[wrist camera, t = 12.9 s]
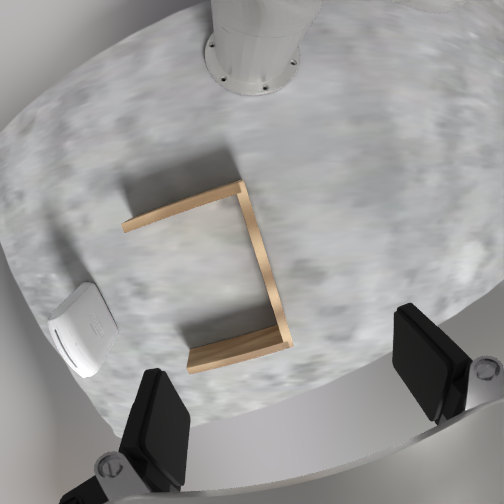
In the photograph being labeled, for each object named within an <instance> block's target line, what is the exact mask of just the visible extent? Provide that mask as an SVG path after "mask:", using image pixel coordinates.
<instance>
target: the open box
mask: <svg viewBox="0 0 504 504" xmlns="http://www.w3.org/2000/svg"><path fill="white" fill-rule="evenodd" d="M235 194H237V196H238V199H239V203H240V206H241V209H242V212H243V215H244V218H245V222H246V225H247V228H248V231H249V234H250V237H251V241H252V244H253V247H254V250H255V253H256V256H257V260H258V263H259V266H260V269H261V272H262V275H263V279H264V282H265V285H266V288H267V291H268V295H269V298H270V301H271V304H272V307H273V310H274V314H275V317H276V320H277V323H278V325H275V326H272V327H269V328H265V329H262V330H259V331H255V332H252V333H248V334H245V335H241V336H238V337H234V338H231V339H227V340H223V341H220V342H216V343H212V344H208V345H205V346H201V347H197V348H193V349H190V352H189V357H188V363H187V370H188V372H189V374H193V373H198V372H202V371H206V370H211V369H215V368H219V367H223V366H227V365H231V364H235V363H238V362H242V361H246V360H249V359H253V358H257V357H260V356H264V355H267V354H270V353H274V352H277V351H280V350H284V349H287V348H290V347H293V346H294V345H293V342H292V339H291V335H290V332H289V328H288V325H287V322H286V318H285V315H284V311H283V308H282V305H281V301H280V298H279V295H278V291H277V288H276V285H275V281H274V278H273V275H272V271H271V268H270V265H269V261H268V258H267V255H266V251H265V248H264V245H263V242H262V238H261V235H260V232H259V229H258V225H257V222H256V219H255V215H254V212H253V209H252V206H251V203H250V199H249V196H248V193H247V190H246V186H245V183H244V181H243V180H238V181H235V182H232V183H229V184H226V185H223V186H219V187H216V188H213V189H210V190H207V191H204V192H201V193H198V194H196V195H193V196H190V197H187V198H184V199H181V200H178V201H176V202H173V203H170V204H167V205H164V206H162V207H159V208H156V209H154V210H151V211H148V212H146V213H143V214H140V215H138V216H135V217H133V218H131V219H129V220H128V221H126V222H124V223H122V224H121V225H122V228H123V231H124V233H126V232H129V231H132V230H134V229H137V228H140V227H142V226H145V225H148V224H150V223H153V222H156V221H158V220H161V219H164V218H167V217H170V216H172V215H175V214H178V213H181V212H184V211H187V210H190V209H193V208H195V207H198V206H201V205H204V204H207V203H210V202H213V201H216V200H220V199H223V198H226V197H229V196H232V195H235Z"/></svg>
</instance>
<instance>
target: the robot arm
mask: <svg viewBox="0 0 504 504" xmlns="http://www.w3.org/2000/svg"><path fill="white" fill-rule="evenodd" d="M210 1H211V10H212V19H213V28H214V32H213V33H212V34H211V36H210V37H209V39H208V41H207V44H206V48H205V62H206V65H207V68H208V71H209V73H210V74H211V76H212V77H213V78H214V80H215V81H216V82H217V83H218V84H220V85H221V86H222V87H224V88H225V89H227V90H229V91H231V92H234V93H237V94H241V95H247V96H261V95H266V94H270V93H272V92H275V91H277V90H279V89H281V88H282V87H284V86H285V85H286V84H287V83H288V82H290V80H291V79H292V78H293V77H294V75H295V73H296V71H297V70H298V67H299V63H300V51H299V47H298V45H299V44H300V42H301V40H302V39H303V37H304V35H305V34H306V32H307V30H308V29H309V27H310V26H311V24H312V22H313V21H314V19H315V18H316V16H317V15H318V13H319V11H320V9H321V6H322V3H323V0H210ZM391 1H394V2H397V3H399V4H402V5H405V6H407V7H410V8H413V9H416V10H419V11H423V12H427V13H434V14H441V13H448V12H451V11H453V10H455V9H457V8H459V7H460V6H462V5H463V4H464V3H465V2H466V1H467V0H391ZM211 46H214V47H211ZM291 63H293V64H294V65H292V64H291ZM222 79H225V81H222ZM263 88H266V89H267V90H263ZM392 362H393V366H394V368H395V370H396V371H397V373H398V374H399V376H400V377H401V378H402V380H403V381H404V383H405V384H406V386H407V387H408V389H409V390H410V392H411V393H412V394H413V396H414V397H415V399H416V400H417V402H418V403H419V405H420V406H421V408H422V409H423V411H424V412H425V414H426V415H427V417H428V418H429V420H430V421H435V423H436V424H437V426H436V427H434V428H432V429H430V430H428V431H426V432H424V433H422V434H420V435H417V436H415V437H413V438H411V439H409V440H407V441H404V442H402V443H400V444H398V445H395V446H393V447H390V448H388V449H385V450H383V451H381V452H378V453H375V454H373V455H370V456H368V457H364V458H362V459H359V460H356V461H353V462H350V463H347V464H344V465H341V466H337V467H334V468H331V469H327V470H324V471H320V472H316V473H312V474H309V475H305V476H300V477H296V478H291V479H286V480H282V481H277V482H271V483H265V484H259V485H253V486H246V487H238V488H230V489H220V490H207V491H190V492H180V489H181V486H183V485H184V483H185V471H186V460H187V449H188V440H189V439H188V438H189V429H190V415H189V412H188V411H187V409H186V407H185V405H184V404H183V402H182V400H181V399H180V397H179V395H178V393H177V392H176V390H175V388H174V386H173V385H172V383H171V381H170V379H169V377H168V375H167V374H166V372H165V371H161V369H159V368H155V369H148V370H145V372H144V374H143V377H142V380H141V383H140V386H139V390H138V393H137V396H136V399H135V402H134V403H133V405H132V408H131V411H130V414H129V417H128V421H127V424H126V427H125V430H124V434H123V437H122V441H121V444H120V447H119V451H118V452H115V451H112V452H107V453H105V454H103V455H102V456H100V457H99V458H98V460H97V461H96V463H95V465H94V472H95V476H93V477H92V478H90V479H88V480H87V481H85V482H84V483H82V484H81V485H79V486H78V487H76V488H74V489H73V490H71V491H69V492H68V493H66V494H65V495H64V496H63V497H62V498H61V500H60V503H59V504H504V368H503V365H502V363H501V362H500V361H499V360H498V359H497V358H494V357H492V356H481V357H478V358H476V359H475V360H474V361H473V360H471V358H469V357H468V355H467V354H466V353H465V352H464V351H463V350H462V349H461V348H459V346H458V345H457V344H456V343H454V342H453V341H452V340H451V339H450V338H449V337H448V336H447V335H446V334H445V333H444V332H443V331H442V330H441V329H440V328H439V327H437V326H436V325H435V324H434V323H433V322H432V321H431V320H430V319H429V318H428V317H426V316H425V315H424V314H423V313H422V312H421V311H420V310H419V309H418V308H417V307H416V306H414V305H413V304H412V303H407V304H405V305H402V306H399V307H398V308H397V311H396V312H395V313H394V335H393V358H392Z"/></svg>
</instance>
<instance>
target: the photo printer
mask: <svg viewBox="0 0 504 504" xmlns="http://www.w3.org/2000/svg"><path fill="white" fill-rule="evenodd" d="M47 322H48V326H49V330H50V333H51V335H52V338H53V340H54V342H55V344H56V346H57V348H58V350H59V352H60V353H61V355H62V356H63V358H64V359H65V361H66V362H67V363H68V364H69V366H70V367H71V368H72V369H73V370H74V371H75V372H76V373H77V374H79V375H80V376H81V377H83V378H85V377H90V376H92V375H94V374H95V373H96V372H97V371H98V370H99V369H100V368H101V366H102V364H103V362H104V360H105V358H106V357H107V355H108V353H109V351H110V349H111V347H112V346H113V344H114V342H115V340H116V338H117V337H118V334H119V332H118V329H117V326H116V324H115V322H114V320H113V318H112V316H111V314H110V312H109V310H108V308H107V306H106V304H105V302H104V300H103V298H102V296H101V295H100V293H99V291H98V289H97V287H96V286H95V284H94V283H93V284H92V283H90V282H84V283H82V284H81V285H80V286H79V287H78V288H77V289H76V290H75V291H74V292H73V293H72V294H71V295H70V296H69V297H67V298H66V299H65V300H64V301H63V302H62V303H61V304H60V305H59V306H58V307H57V308H56V309H55V310H54V311H53V313H52V314H51V315H50V316H49V317H48V319H47Z"/></svg>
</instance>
